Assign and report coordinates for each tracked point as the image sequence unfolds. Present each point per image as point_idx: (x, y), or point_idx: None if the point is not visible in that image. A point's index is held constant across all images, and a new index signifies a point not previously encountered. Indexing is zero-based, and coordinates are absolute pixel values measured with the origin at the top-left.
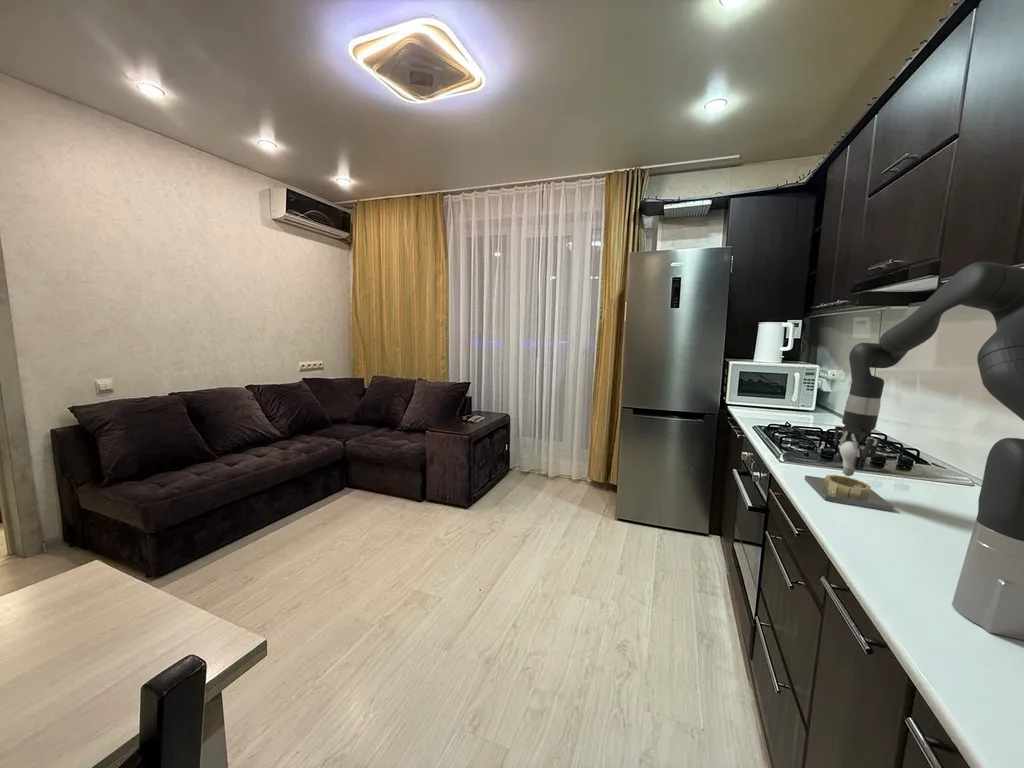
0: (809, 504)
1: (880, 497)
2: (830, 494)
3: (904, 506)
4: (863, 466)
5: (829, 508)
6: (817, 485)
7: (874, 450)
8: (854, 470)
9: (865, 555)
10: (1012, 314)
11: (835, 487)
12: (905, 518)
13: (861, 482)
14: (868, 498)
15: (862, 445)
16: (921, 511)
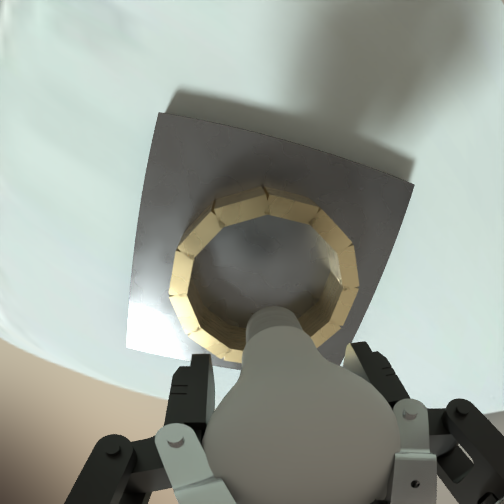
0: None
1: (331, 160)
2: None
3: (347, 72)
4: (387, 364)
5: None
6: (238, 363)
7: (499, 450)
8: (300, 329)
9: (500, 385)
10: None
11: None
12: (442, 178)
13: (257, 212)
14: (349, 234)
15: (380, 494)
16: (381, 45)
